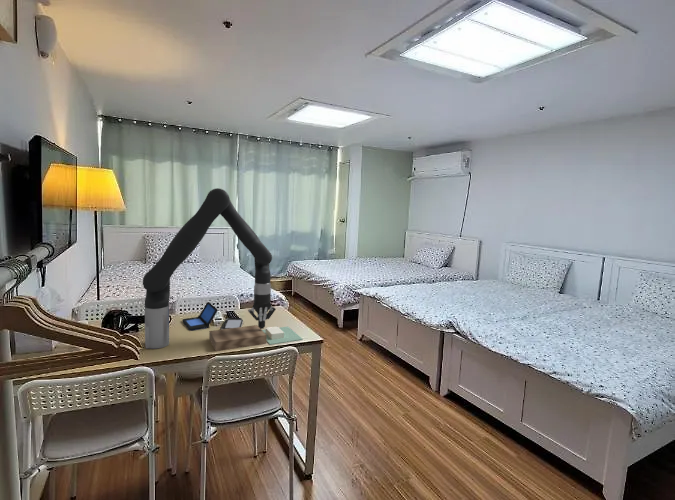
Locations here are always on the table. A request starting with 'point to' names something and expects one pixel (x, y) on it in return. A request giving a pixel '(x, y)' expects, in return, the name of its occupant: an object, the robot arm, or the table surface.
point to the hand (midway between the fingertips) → (261, 328)
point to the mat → (288, 336)
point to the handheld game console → (201, 318)
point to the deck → (237, 337)
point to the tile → (274, 332)
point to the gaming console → (232, 323)
